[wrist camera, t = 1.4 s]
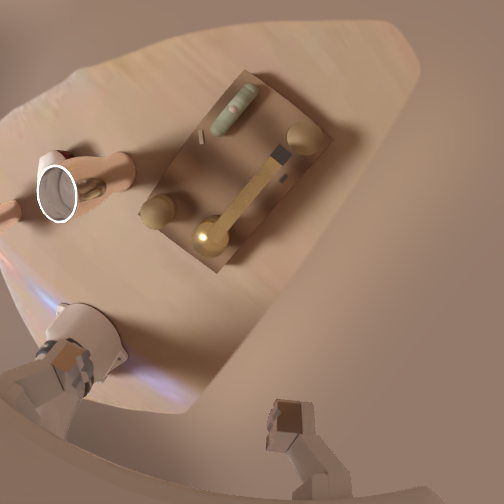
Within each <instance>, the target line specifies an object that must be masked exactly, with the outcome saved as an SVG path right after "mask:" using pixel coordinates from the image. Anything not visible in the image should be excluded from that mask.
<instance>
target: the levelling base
mask: <svg viewBox="0 0 504 504" xmlns="http://www.w3.org/2000/svg"><path fill="white" fill-rule="evenodd" d="M333 140H334V139H333V138H332V137H331V136H329V135H328V134H327V133H326V132H325V131H324V130H323V129H322V128H320V127H319V126H318V125H317V124H316V123H315V122H313V121H312V120H311V119H310V118H309V117H307V116H306V115H305V114H304V113H303V112H301V111H300V110H299V109H298V108H297V107H295V106H294V105H293V104H292V103H290V102H289V101H288V100H286V99H285V98H284V97H283V96H281V95H280V94H279V93H277V92H276V91H275V90H273V89H272V88H271V87H269V86H268V85H267V84H265V83H264V82H262V81H261V80H260V79H258V78H257V77H255V76H254V75H253V74H251V73H250V72H248V71H247V70H244V71H243V72H242V73H241V74H240V75H239V76H238V78H237V79H236V80H235V81H234V82H233V83H232V84H231V86H230V87H229V88H228V89H227V90H226V92H225V93H224V94H223V95H222V96H221V98H220V99H219V100H218V101H217V102H216V104H215V105H214V106H213V107H212V109H211V110H210V111H209V112H208V114H207V115H206V116H205V118H204V119H203V120H202V121H201V123H200V124H199V125H198V127H197V128H196V129H195V131H194V132H193V133H192V135H191V136H190V137H189V139H188V140H187V141H186V143H185V144H184V146H183V147H182V148H181V150H180V151H179V153H178V154H177V155H176V157H175V158H174V160H173V161H172V163H171V164H170V166H169V167H168V169H167V170H166V172H165V173H164V175H163V176H162V178H161V179H160V181H159V182H158V184H157V185H156V187H155V188H154V190H153V191H152V193H151V195H150V196H149V198H148V199H147V201H146V202H145V203H144V204H143V205H142V207H141V211H140V212H139V214H138V215H139V216H141V219H142V221H143V223H144V224H145V225H146V226H147V227H149V228H150V229H154V230H159V231H160V232H162V233H163V234H164V235H166V236H167V237H168V238H169V239H171V240H172V241H173V242H175V243H176V244H177V245H179V246H180V247H181V248H183V249H184V250H185V251H187V252H188V253H190V254H191V255H192V256H194V257H195V258H196V259H198V260H199V261H200V262H202V263H203V264H204V265H206V266H207V267H209V268H210V269H211V270H213V271H214V272H215V273H218V272H219V271H220V270H221V269H222V267H223V266H224V265H225V264H226V263H227V261H228V260H229V259H230V258H231V257H232V256H233V254H234V253H235V252H236V251H237V250H238V249H239V247H240V246H241V245H242V244H243V243H244V242H245V240H246V239H247V238H248V237H249V236H250V235H251V233H252V232H253V231H254V230H255V229H256V228H257V227H258V225H259V224H260V223H261V222H262V221H263V220H264V218H265V217H266V216H267V215H268V214H269V213H270V211H271V210H272V209H273V208H274V207H275V206H276V205H277V203H278V202H279V201H280V200H281V199H282V198H283V197H284V195H285V194H286V193H287V192H288V191H289V190H290V188H291V187H292V186H293V185H294V184H295V183H296V182H297V180H298V179H299V178H300V177H301V176H302V175H303V174H304V172H305V171H306V170H307V169H308V168H309V167H310V166H311V165H312V163H313V162H314V161H315V160H316V159H317V158H318V157H319V155H320V154H321V153H322V152H323V151H324V150H325V149H326V148H327V146H328V145H329V144H330V143H331V142H332V141H333ZM279 144H280V145H281V146H283V147H284V148H285V149H286V150H287V151H289V152H290V153H291V154H292V156H291V157H290V158H289V159H288V161H287V162H286V163H285V164H284V165H283V166H282V167H281V168H280V169H279V170H278V171H277V173H276V174H275V175H274V176H273V177H272V178H271V180H270V181H269V182H268V183H267V184H266V186H265V187H264V188H263V189H262V190H261V191H260V193H259V194H258V195H257V196H256V197H255V199H254V200H253V201H252V202H251V203H250V205H249V206H248V207H247V208H246V209H245V211H244V212H243V213H242V214H241V215H240V217H239V218H238V219H237V220H236V222H235V223H234V224H233V225H232V226H231V236H230V239H229V241H228V244H227V247H226V249H225V251H224V252H223V253H222V254H221V255H220V256H218V257H215V258H207V257H203V256H201V255H200V254H198V253H197V252H196V251H195V249H194V247H193V245H192V234H193V232H194V230H195V229H196V228H197V226H198V225H199V224H200V222H201V221H202V220H203V219H204V218H206V217H208V216H211V215H216V216H221V214H222V213H223V212H224V211H225V209H226V208H227V207H228V206H229V204H230V203H231V202H232V201H233V199H234V198H235V197H236V196H237V194H238V193H239V192H240V191H241V190H242V188H243V187H244V186H245V185H246V183H247V182H248V181H249V180H250V179H251V177H252V176H253V175H254V174H255V172H256V171H257V170H258V169H259V168H260V166H261V165H262V164H263V163H264V162H265V161H266V159H267V158H268V157H269V156H270V154H271V153H272V152H273V150H274V149H275V148H276V147H277V146H278V145H279Z"/></svg>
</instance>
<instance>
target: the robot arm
mask: <svg viewBox="0 0 504 504" xmlns="http://www.w3.org/2000/svg"><path fill="white" fill-rule="evenodd" d="M46 340H47V341H46V342H45V343H44V345H42V346H41V347H40V349H39V351H38V352H37V354H36V359H35V360H34V361H33V362H30V363H27V364H25V365H22V366H19V367H17V368H14V369H11V370H8V371H6V372H3V373H2V374H1V376H0V504H447V503H446V501H445V500H444V499H443V498H442V497H440V496H439V495H438V494H437V493H436V492H434V491H433V490H432V489H431V488H429V487H427V486H418V487H414V488H410V489H406V490H401V491H396V492H390V493H385V494H378V495H372V496H364V497H355V498H353V496H352V487H351V477H350V472H349V470H347V468H346V467H345V466H344V465H343V463H342V462H341V461H340V460H339V459H338V458H337V456H336V455H335V454H334V453H333V452H332V451H331V449H330V448H329V447H328V446H327V444H326V443H325V442H324V441H323V439H322V438H321V437H320V436H319V435H316V432H315V419H314V408H313V404H312V403H309V402H300V401H291V400H281V399H276V400H275V402H274V408H273V409H271V411H270V413H269V417H268V422H267V430H268V431H269V434H268V435H267V437H266V451H274V452H282V453H286V456H287V458H288V459H289V461H290V463H291V464H292V466H293V467H294V469H295V471H296V472H297V474H298V476H299V477H300V479H301V480H302V482H303V484H302V485H301V486H300V487H299V488H297V489H296V490H295V491H294V492H293V493H292V500H278V499H263V498H252V497H243V496H236V495H228V494H222V493H216V492H211V491H206V490H201V489H196V488H191V487H187V486H183V485H179V484H175V483H171V482H168V481H164V480H161V479H157V478H154V477H151V476H148V475H145V474H142V473H139V472H136V471H133V470H130V469H127V468H125V467H122V466H120V465H117V464H115V463H112V462H110V461H107V460H105V459H102V458H100V457H98V456H96V455H94V454H91V453H89V452H87V451H85V450H83V449H81V448H79V447H77V446H75V445H73V444H71V443H69V442H67V441H66V436H67V430H68V427H69V424H70V421H71V419H72V417H73V415H74V413H75V411H76V409H77V407H78V405H79V403H80V401H81V399H82V398H83V397H85V396H86V395H87V394H88V393H89V391H90V390H91V388H92V385H93V384H94V383H95V382H97V383H99V384H100V385H101V384H102V383H103V382H104V381H105V379H106V378H107V374H108V373H109V372H110V371H112V370H113V369H115V368H116V367H118V366H119V365H120V364H122V363H123V362H125V361H126V360H127V359H128V354H127V353H126V351H125V350H124V348H123V347H122V344H121V340H120V337H119V334H118V332H117V330H116V329H115V327H114V326H113V324H112V323H111V322H110V321H109V320H108V319H107V318H106V317H105V316H104V315H103V314H102V313H100V312H99V311H98V310H96V309H94V308H92V307H90V306H88V305H85V304H79V303H77V304H72V305H67V304H63V303H59V304H58V306H57V308H56V318H55V320H54V321H53V322H52V323H51V325H50V326H49V327H48V329H47V330H46Z"/></svg>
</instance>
